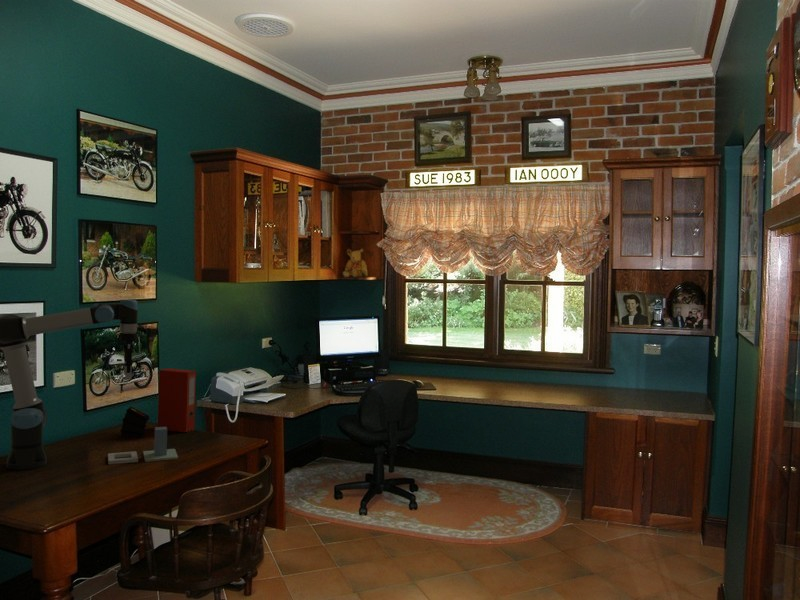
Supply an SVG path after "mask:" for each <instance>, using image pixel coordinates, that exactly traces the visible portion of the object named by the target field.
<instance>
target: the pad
mask: <svg viewBox="0 0 800 600" xmlns="http://www.w3.org/2000/svg"><path fill="white" fill-rule="evenodd" d="M142 455H143V458H144V462H145V463H149V462H159V461H160V462H161V461H170V460H179V456H178V453H177V451H176V449H175V448H167V455H161V456H155V454H154V449H152V450H143V451H142Z"/></svg>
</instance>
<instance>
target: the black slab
mask: <svg viewBox="0 0 800 600" xmlns="http://www.w3.org/2000/svg"><path fill="white" fill-rule="evenodd" d="M121 420H122V425H121V429H120V431H119V432H120V433H121V435H120V436H121V437H122V438H144V437H145V434H146V431H145V428H146V427H147V422H148V421H149V420H150V416H149V415H148V414H146V413H144V412H142V411H140V410H138V409H136V408H135V407H133V406H130V407H128V408H127V409H126V410H125V415H124V418H122V419H121Z"/></svg>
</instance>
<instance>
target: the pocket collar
mask: <svg viewBox="0 0 800 600" xmlns="http://www.w3.org/2000/svg"><path fill="white" fill-rule="evenodd" d="M107 461H108V462H107V464H108V465H119V464H127V463H129V464H130V463H138V462H139V457H138V453H137V451H124V452H121V451H120V452H112V453H107Z"/></svg>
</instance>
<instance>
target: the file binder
mask: <svg viewBox="0 0 800 600" xmlns="http://www.w3.org/2000/svg"><path fill="white" fill-rule="evenodd" d="M196 382H197V371H196V370H189V369H178V368H168V367H167V368H163V369H159V371H158V403H157V404H158V405H157V427H167V431H169V430H170V431H169V432H177V431H178V433H185V432H187V433H189V432H191V431H190V430H192V431H194V430H195V423H196V421H195V420H196V419H195V418H196V415H195V414H196V385H197V383H196ZM188 431H189V432H188Z"/></svg>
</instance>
